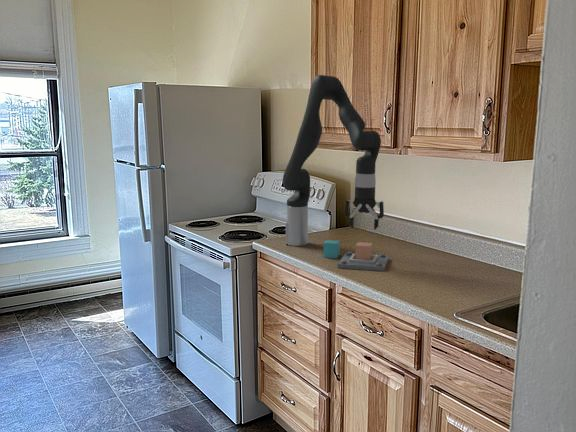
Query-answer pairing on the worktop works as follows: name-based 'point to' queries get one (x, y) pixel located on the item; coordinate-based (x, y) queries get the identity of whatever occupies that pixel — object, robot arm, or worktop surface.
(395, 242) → the worktop surface
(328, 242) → the teal block
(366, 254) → the terracotta block
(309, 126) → the robot arm
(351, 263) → the plate
